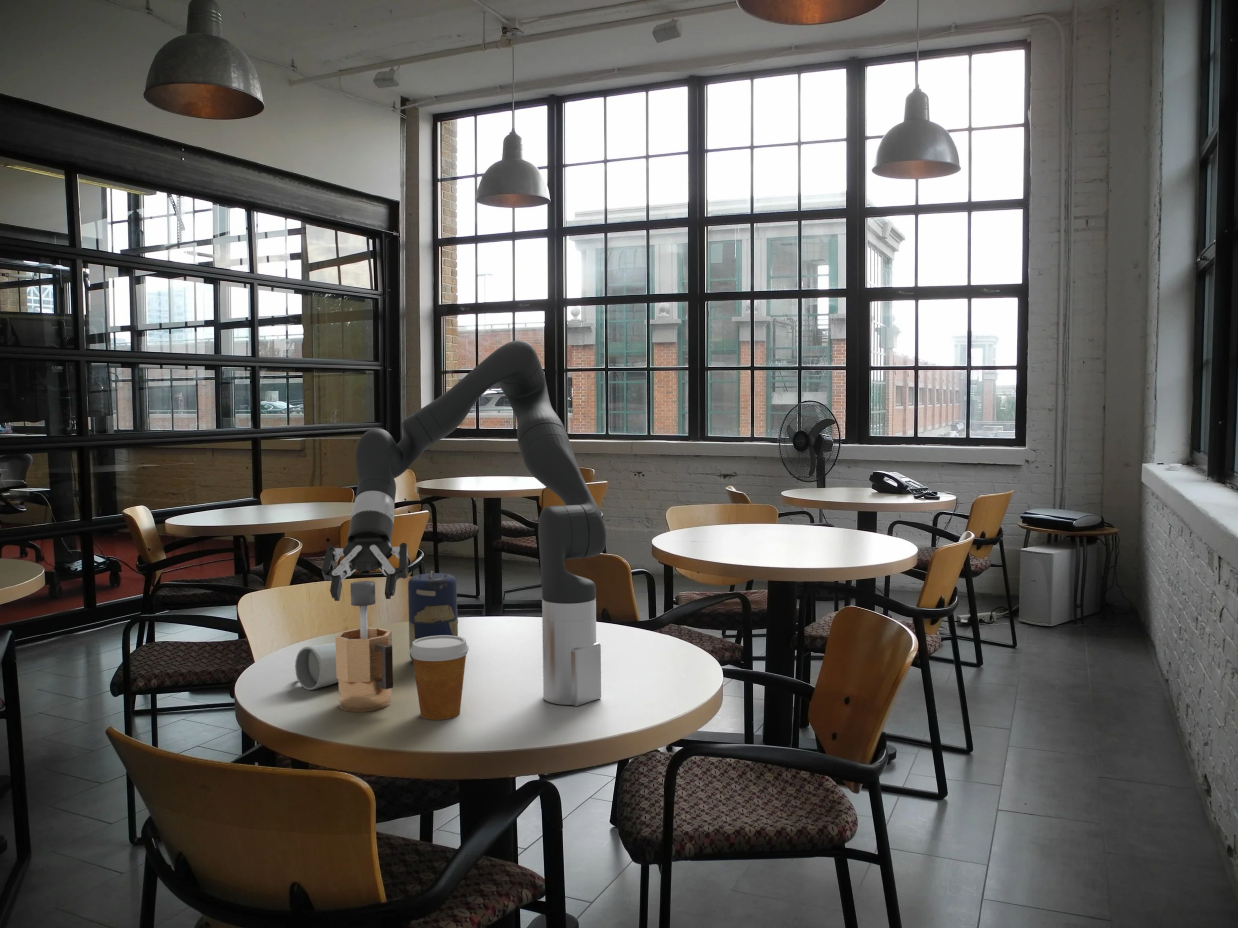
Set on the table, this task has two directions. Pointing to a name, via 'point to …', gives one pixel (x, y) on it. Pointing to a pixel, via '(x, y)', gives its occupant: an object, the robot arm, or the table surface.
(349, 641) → the wooden pitcher
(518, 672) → the table surface
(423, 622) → the canister
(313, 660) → the ceramic mug
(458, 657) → the disposable coffee cup
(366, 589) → the plunger
